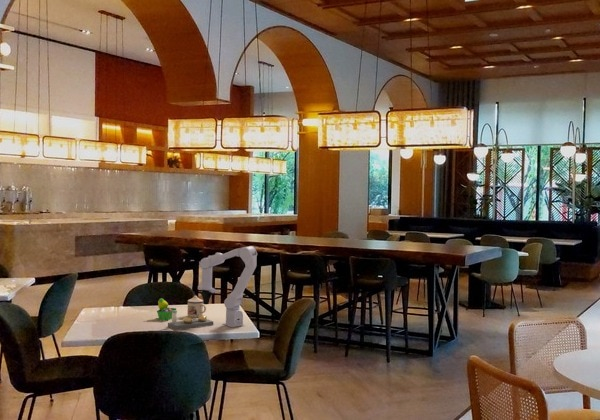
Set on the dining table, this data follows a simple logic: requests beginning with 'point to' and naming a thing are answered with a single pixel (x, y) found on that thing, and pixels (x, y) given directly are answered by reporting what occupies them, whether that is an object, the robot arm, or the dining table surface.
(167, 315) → the fruit basket
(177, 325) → the slate panel
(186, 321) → the brass knob
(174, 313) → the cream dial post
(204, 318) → the brass knob
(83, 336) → the dining table surface
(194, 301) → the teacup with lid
